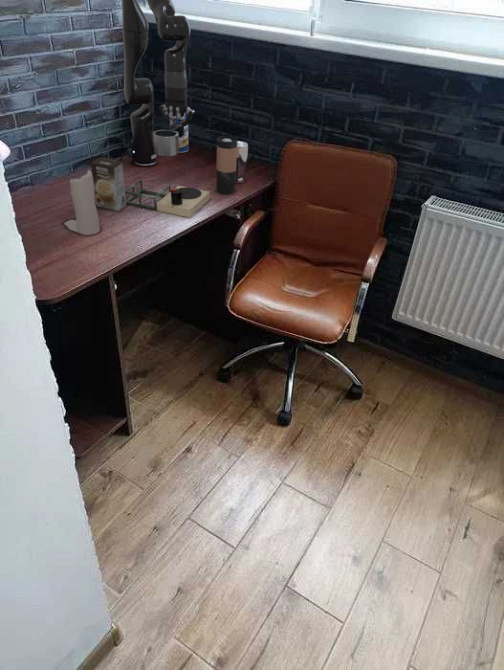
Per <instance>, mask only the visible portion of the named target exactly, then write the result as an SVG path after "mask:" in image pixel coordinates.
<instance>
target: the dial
mask: <svg viewBox="0 0 504 670" xmlns="http://www.w3.org/2000/svg"><path fill="white" fill-rule="evenodd" d="M171 203H172V204H173V205H181V204H182V203H183V201H182V190H180V189H175V188H171Z"/></svg>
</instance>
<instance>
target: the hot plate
mask: <svg viewBox="0 0 504 670" xmlns="http://www.w3.org/2000/svg"><path fill="white" fill-rule="evenodd" d="M185 187H186V186H183V185H177V186H176V187H175V188H174V189H179V188H185ZM197 189H198V190H200V191H201V196H200V197H198V198H194V199H182V201H183V203H182V204H181V205H173V204H172V203H171V192H170V193H169V192H168V194H167V195H166V196H165V197H164V198H162V197H161V199H160V200H158V201H156V206H157V210H156V211H158V212H160V213H161V212H162V213H166V214H167V213H168V214H171V215H177V216H181V217H185V218H191V217H193V216H194V215H195V214H196V213H197V212H198V211H199V210H200V209H201V208H202V207H203V206H204V205H205V204H206V203H208V202H209V200H210V198H211V197H210V195H211V194H210V193H211V192H210V191H209V190H203V189H199V188H197Z"/></svg>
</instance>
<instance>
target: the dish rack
mask: <svg viewBox="0 0 504 670" xmlns="http://www.w3.org/2000/svg"><path fill="white" fill-rule="evenodd" d="M138 184H139V185H140V186H139V187H140V189H139V190H138V191H137V192H135V187H136V186H137V185H138ZM131 189H132V191H130V190H131ZM171 189H172V187H171V184H169V185H168V186H166V187H164V188H163V189H162V190H161V191H160V192H156V191H152V190H148V189H143V180H142V179H139V180H138V181H136V182H135V183H134V184H132V185H130V186H129V187H128V188H125V196H126V197H127V194H129V195H131V196H130V197H128V198H126V205H130V206H134V207H139V208H144V209H147V210H148V209H149V210H153V211H157V198H158V197H161V199H162V198H164V197H165V196H166V195H167V194H166V193H165V192H166V191H167V190H168V194H169V193H170V192H171ZM142 193H143V194H142ZM137 197H138V203H137V202H133V200H134V199H136V198H137ZM142 198H149V199H153V206H152V205H146V204H143V203H142Z"/></svg>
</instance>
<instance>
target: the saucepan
mask: <svg viewBox="0 0 504 670" xmlns="http://www.w3.org/2000/svg"><path fill="white" fill-rule="evenodd" d="M178 127H179V124H178V125H176V126H174V127H172V128H171V129H170V128H169V129H158V130H154V132H153V137H154V152H155V154H156V156H160V157H175V156H177V155H178V154H180V153H179V144H178V132H177V131H179V129H178Z"/></svg>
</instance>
